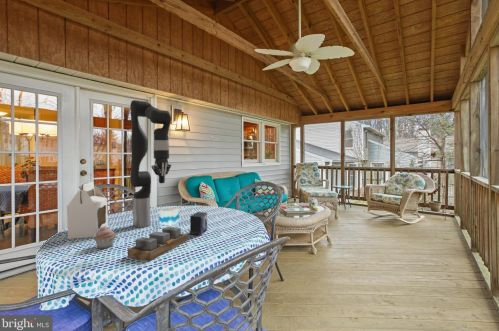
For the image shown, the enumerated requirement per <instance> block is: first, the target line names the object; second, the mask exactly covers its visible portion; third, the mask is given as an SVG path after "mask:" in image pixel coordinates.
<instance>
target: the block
mask: <svg viewBox="0 0 499 331" xmlns="http://www.w3.org/2000/svg"><path fill="white" fill-rule="evenodd" d="M148 235H149V237H148V238H153V239H157V244H160V245H164V244H165V242H167V241H169V240H170V233H164V232H162V231H153V232H151V233H149V234H148Z"/></svg>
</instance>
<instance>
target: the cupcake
mask: <svg viewBox="0 0 499 331" xmlns="http://www.w3.org/2000/svg"><path fill="white" fill-rule="evenodd" d="M116 237H117V235H116V234H115V232H114V231H113V230H112V228H110V227H108V226H107V227H106V226H104V227H102V228H101V229H100V231H98V232H97V234H96V237H93V240H94V241H95V242H96V247H97V248H98V249H109V248H111V247H113V246H114V241H115V239H116Z"/></svg>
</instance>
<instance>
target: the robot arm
mask: <svg viewBox="0 0 499 331" xmlns="http://www.w3.org/2000/svg"><path fill="white" fill-rule="evenodd" d="M129 109H130V122H131V124H130V125H131V134H130V136H131V139H130V142H131V143H130V145H131V146H130V147H131V148H130V149H131V163H130V164H131V165H130V166H131V167H130V173H129V174H130V176H129V177H130V178H129V179H130V185H131V187H133V188H139V187H141V188H140V189H139V190H138V191H136V192H135V193H133V210H132V226H133V227H135V228H146V227H149V226H151V193H152V192H151V191H152V190H151V188H152V176H151V173H150V172H149V171H147V170H143V171H140V166H141V163H142V161H143V160H144V158H145V156H146V155H147V153H148V150H149V139H148V136H147V134H146V133H145V131H144V130H143V128H142V126H141V125H140V121H139V118H147V119H148V120H150V123H152V124H154V125H162V127H160V128H156V129H153V159H154V164H153V165H151V166H150V167H151V169H152V170H153V173H154V174H155V176H158V183H159V184H165V183H166V182H165V181H166V178H165V177H166V175H168V174H169V171H170V169H171V168H172V164H170V163H169V161H168V160H169V159H170V144H169V130H170V127H171V122H172V117H173V116H172V113H171V112H170V111H169V110H163V109H159V108H157V107H155V106H153V104H152V103H150V102H147V101H145V100H144V101H143V100H137V99H133V100H131V102H130V108H129Z"/></svg>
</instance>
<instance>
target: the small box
mask: <svg viewBox="0 0 499 331" xmlns="http://www.w3.org/2000/svg"><path fill="white" fill-rule="evenodd" d="M189 218H190V219H189V220H190V221H189V225H190V226H189V235H190V236H191V235H192V236H201V235H203V234H204V233H205V232H206V231H208V212H205V211H204V212H202V211H197V212H195V213H193V214H192V215H189Z"/></svg>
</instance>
